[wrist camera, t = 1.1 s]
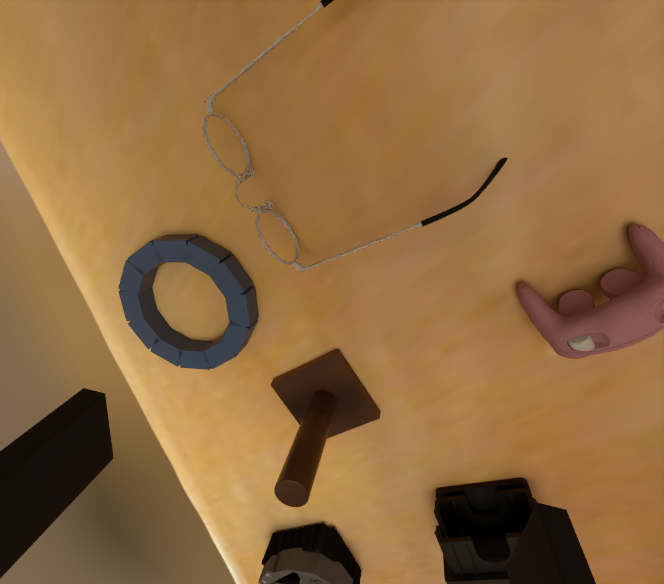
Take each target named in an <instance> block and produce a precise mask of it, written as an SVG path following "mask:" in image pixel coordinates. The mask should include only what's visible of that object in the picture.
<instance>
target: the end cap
mask: <svg viewBox="0 0 664 584" xmlns="http://www.w3.org/2000/svg"><path fill="white" fill-rule="evenodd" d="M436 498H437V500H436V502H435V509H434V514H435V516H436V519H437V521H438V524H439V526H436V531H435V535H436V537H437V540H438V542H439V545H440V547H441V550H442V552H443V560H444V575H445V581H446V583H447V584H510V583H509V578H508V573H507V568H506V566H507V564H508V562H509V560H510V558H511V555H512V553H513V551H514V549H515V547H516V545H517V543H518V541H519V539H520V536H521V534H522V532H523V530H524V528H525V526H526V524H527V522H528V520H529V517H530V515H531V513H532V511H533V509H534V507H535V505H536V503H537V501H536V499H534V498H533V497H532V494H531V492H530V488H529V485H528V482H527V481H526V480H525V479H523V478H518V479H510V480H502V481H494V482H486V483H478V484H470V485H462V486H453V487H445V488H439V489H437V490H436Z"/></svg>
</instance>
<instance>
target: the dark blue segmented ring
mask: <svg viewBox="0 0 664 584" xmlns="http://www.w3.org/2000/svg"><path fill="white" fill-rule="evenodd" d="M230 254H231V252H229V251H227V250H226V249H224V248H222V247H220V246H218V245H217V244H215V243H213V242H211V241H209V240H208V239H206V238H204V237H202V236H200V237H198V235H166V236H163V237H160V238H158V239H155V240H152V241H150V242H149V243H147V244H146V245H145V246H143V247H142V248H141V249H139V250H138V251H137V252H135V253H134V254H133V255H131V256H130V257H129V258H128V260H126V263H125V266H124V270H123V273H122V277H121V281H120V284H119V289H121V290H120V291H119V294H120V298H121V302H122V306H123V310H124V314H125V317H126V321H131V322H129V323H128V325H129V326H130V327H131V328H132V330H133V331H134V332H135V333H136V335H137V336H138V337H139V338H140V340H141V341H142V342H143V343H144V345H145V346H146V347H147V348H148V349H149V348H151V347H152V348H151V352H153V353H154V354H156V355H158V356H160V357H162V358H163V359H165V360H167V361H169V362H171V363H172V364H174V365H176V366H179V365H180V367H181V368H194V369H208V370H209V369H210V368H212V369H213V368H215V367H217V366H219V365H221V364H223V363H225V362H227V361H229V360H230V359H232V358H234V357H236V356H237V355H238V354H239V353H240V351H241V350H242V349H243V348H244V347H245V345H246V344H247V342H248V340H249V338H250V336H251V334H252V332H253V330H254V328H255V326H256V324H257V321H258V319H257V318H258V309H257V301H256V294H255V287H254V286H251V285H252V284H253V282H252V281H251V279H250V278H249V276H248V275H247V273H246V272H245V271H244V269H243V268H242V266H241V265H240V263H239V262H238V261H237V259H236V258H235V256H234V255H232V256H231V257H230ZM165 262H186V263H188V264H190V265H192V266H193V267H195V268H197V269H199V270H201V271H202V272H204V273H206V274H208V275H209V276H210V277H211V278H212V280H213V281H214V282H215V284H216V285H217V287H218V288H219V289H220V291H221V292H222V293H223V295H224V296H225V298H226V303H227V310H228V316H229V324H228V327H227V329H226V331H225V333H224V336H222V337H220V338H218V339H217V340H215V341H198V340H191V339H189V338H187V337H185V336H183V335H182V334H180V333H178V332H176V331H175V330H173V329H171V328H170V326H169V325H168V324H167V323H166V321H165V320H164V319H163V317H162V316H161V315H160V313H159V312H158V311H157V309H156V305H155V300H154V296H153V292H152V285H153V282H154V279H155V275H156V272H157V269H158V267H160V266H161V265H162V264H164V263H165Z"/></svg>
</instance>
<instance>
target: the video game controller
mask: <svg viewBox="0 0 664 584" xmlns="http://www.w3.org/2000/svg"><path fill="white" fill-rule="evenodd" d="M628 233H629V240H630V243H631V246H632V248H633V250H634V252H635V254H636V256H637V258H638V260H639V262H640V263H641V265H642V267H643V268H644V270H645V273H642V274H641V273H637V272H634V271H631V270H628V269H615V270H612V271H610V272H608V273H607V274H605V275H604V276H603V278H602V279H601V287H602V289H603V292H604V294H605V296H606V297H607V298H609V299H610V300H609V301H607V302H605V303H603V304H601V305H599V306H597V307H595V305H594V302H593V299H592V297H591V295H590V294H589V293H588V292H586V291H583V290H573V291H570V292H567V293H566V294H564V295H563V296H562V297H561V298H560V301H559V313H558V314H557V313H556V312H555V311H554V310H553V309H551V308H550V307H549V306H548V305H547V304H546V302H545V301H544V300H543V299H542V298H541V297H540V295H539V294H538V293H537V292H536V291H535V290H534V289H533V288H531V287H530V286H529V285H527V284H525V283H520V284H519V285H518V290H517V291H518V296H519V298H520V301H521V303H522V305H523V307H524V309H525V311H526V312H527V314H528V316H529V317H530V319H531V321H532V323H533V324H534V325H535V327H536V328H537V329H538V331H539V332H540V333H541V334H542V336H543V337H544V338H545V339H546V341H547V342H548V343H549V344H550V345H551V347H552V348H553V349H554V351H555V352H556V353H557V354H559V355H560V356H563V357H566V358H573V359H578V358H584V357H587V356H589V355H591V354H601V353H606V352H611V351H615V350H618V349H622V348H625V347H628V346H631V345H633V344H636V343H638V342H641V341H643V340H645V339H647V338H649V337H651V336H653V335H655V334H656V333H658V332H660V331H661V330H663V329H664V243H663V242H662V241H661V240H660V239H659V238H658V236H657V235H656V234H655V233H654V232H652V231H651V230H650V229H648V228H646V227H645V226H643V225H640V224H632V225H630V227H629V230H628Z"/></svg>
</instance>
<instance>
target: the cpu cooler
mask: <svg viewBox="0 0 664 584" xmlns="http://www.w3.org/2000/svg"><path fill="white" fill-rule="evenodd" d="M262 565H264V568H263V570H262V573H261V576H260V579H259V582H258V583H259V584H360V578H361V569H360V567H359V566H358V564H357V563H356V561H355V560H354V558H353V556H352V554H351V553H350V552H349V550H348V548H347V547H346V546H345V544H344V542H343V540H342V538H341V537H340V535H339V534H338V533H337V531H336V530H335V527H332V528H327V527H326V525H325V524H321V525H319V524H318V525H317V524H316V525H313V526H306V527H301V528H298V529H294V530H293V529H290V530H285V531H281V532H276V533H273V534H272V537H271V540H270V542H269V545H268V547H267V550H266V553H265V555H264V558H263V560H262Z"/></svg>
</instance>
